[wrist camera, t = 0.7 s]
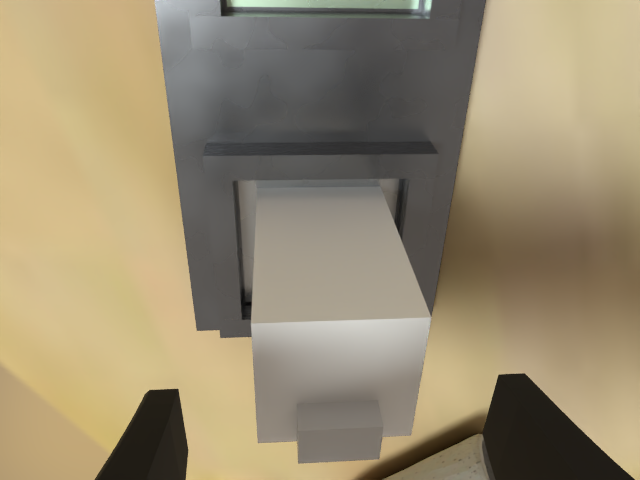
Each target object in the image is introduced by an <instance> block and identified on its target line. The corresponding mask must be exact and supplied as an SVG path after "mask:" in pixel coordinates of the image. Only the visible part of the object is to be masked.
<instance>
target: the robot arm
mask: <svg viewBox="0 0 640 480" xmlns="http://www.w3.org/2000/svg"><path fill="white" fill-rule="evenodd" d="M482 435H483V438H484V442H485V446H486V449H487V453H488V457H489V460H490V464H491V467H492V470H493V474H494V477H495V480H635V479H634V478H632V477H631V476H630V475H629V474H628V473H627V472H625V471H624V470H623V469H622V468H621V467H620V466H619V465H618V464H617V463H615V462H614V461H613V460H612V459H611V458H610V457H609V456H608V455H607V454H606V453H605V452H604V451H603V450H601V449H600V448H599V447H598V446H597V445H596V444H595V443H594V442H593V441H592V440H591V439H590V438H589V437H588V436H587V435H586V434H585V433H584V432H583V431H582V430H581V429H580V428H578V427H577V426H576V425H575V424H574V423H573V422H572V421H571V420H570V419H569V418H568V417H567V416H566V415H565V414H564V413H563V412H562V411H561V410H560V409H559V408H558V407H557V406H556V405H555V404H554V403H553V402H552V401H551V400H550V399H549V398H548V397H547V396H546V395H545V394H544V392H543V391H542V390H541V389H540V388H539V387H538V386H537V385H536V384H535V383H534V382H533V381H532V380H531V379H530V378H529V377H528V376H527V375H526V374H503V375H499V376H498V379H497V383H496V386H495V390H494V394H493V397H492V401H491V404H490V408H489V412H488V415H487V419H486V423H485V426H484V430H483V433H482ZM187 457H188V446H187V439H186V433H185V427H184V421H183V415H182V409H181V403H180V397H179V391H178V389H165V390H149V391H148V392H147V393H146V394H145V395H144V397H143V399H142V401H141V403H140V405H139V407H138V409H137V411H136V413H135V414H134V416H133V418H132V420H131V422H130V423H129V425H128V427H127V429H126V430H125V432H124V434H123V435H122V437H121V439H120V440H119V442H118V444H117V445H116V447H115V449H114V450H113V452H112V453H111V455H110V457H109V458H108V460H107V461H106V463H105V464H104V466H103V467H102V469H101V471H100V472H99V474H98V475H97V477H96V478H95V480H185V479H186V469H187Z"/></svg>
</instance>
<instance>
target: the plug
mask: <svg viewBox="0 0 640 480" xmlns="http://www.w3.org/2000/svg"><path fill="white" fill-rule="evenodd" d="M430 323H431V315H430V313H429V310H428V308H427V305H426V302H425V300H424V297H423V295H422V292H421V290H420V287H419V284H418V282H417V279H416V277H415V274H414V272H413V269H412V266H411V264H410V261H409V259H408V256H407V254H406V251H405V248H404V246H403V243H402V241H401V238H400V236H399V233H398V230H397V228H396V225H395V223H394V220H393V218H392V215H391V212H390V210H389V207H388V205H387V202H386V200H385V197H384V194H383V192H382V189H381V187H380V186H376V187H302V188H257V205H256V227H255V248H254V269H253V290H252V312H251V333H252V351H253V368H254V385H255V403H256V420H257V437H258V443H271V442H291V441H297V450H298V464H299V463H318V462H337V461H355V460H374V459H379V458H380V450H381V442H382V437H390V436H410V435H411V433H412V428H413V422H414V416H415V410H416V404H417V398H418V393H419V387H420V381H421V375H422V369H423V364H424V358H425V352H426V346H427V340H428V334H429V329H430Z"/></svg>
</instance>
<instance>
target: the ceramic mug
mask: <svg viewBox="0 0 640 480" xmlns="http://www.w3.org/2000/svg"><path fill="white" fill-rule="evenodd" d="M383 480H495V477H494V474H493V470H492V467H491V464H490V460H489V457H488V453H487V449H486V446H485V442H484V438H483V435H482V434H476V435H474V436H472V437H470V438H468V439H466V440H464V441H462V442H460V443H458V444H456V445H454V446H451V447H449V448H447V449H445V450H443V451H441V452H439V453H436V454H434V455H432V456H430V457H428V458H426V459H424V460H422V461H420V462H418V463H416V464H414V465H412V466H410V467H409V468H407V469H404V470H402V471H400V472H398V473H396V474H393V475H391V476H389V477H387V478H385V479H383Z"/></svg>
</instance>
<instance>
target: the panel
mask: <svg viewBox="0 0 640 480" xmlns="http://www.w3.org/2000/svg"><path fill="white" fill-rule="evenodd" d="M485 2H486V0H155V7H156V15H157V23H158V31H159V39H160V46H161V54H162V62H163V70H164V78H165V86H166V93H167V101H168V109H169V117H170V125H171V132H172V140H173V148H174V156H175V164H176V172H177V179H178V187H179V195H180V203H181V211H182V218H183V226H184V234H185V242H186V250H187V258H188V265H189V273H190V281H191V289H192V297H193V304H194V312H195V320H196V328H197V331H204V330H220V337H221V338H231V337H252V333H251V312H252V290H253V269H254V248H255V227H256V205H257V188H302V187H376V186H380V187H381V189H382V192H383V194H384V197H385V200H386V202H387V205H388V207H389V210H390V212H391V215H392V218H393V220H394V223H395V225H396V228H397V230H398V233H399V236H400V238H401V241H402V243H403V246H404V248H405V251H406V254H407V256H408V259H409V261H410V264H411V266H412V269H413V272H414V274H415V277H416V279H417V282H418V284H419V287H420V290H421V292H422V295H423V297H424V300H425V302H426V305H427V308H428V310H429V313H430V315H431V316H432V311H433V305H434V299H435V293H436V287H437V282H438V276H439V270H440V264H441V258H442V252H443V247H444V241H445V235H446V229H447V223H448V217H449V212H450V206H451V200H452V194H453V188H454V182H455V177H456V171H457V165H458V159H459V153H460V147H461V142H462V136H463V130H464V124H465V118H466V112H467V107H468V101H469V95H470V89H471V83H472V78H473V72H474V66H475V60H476V54H477V48H478V43H479V37H480V31H481V25H482V19H483V13H484V8H485Z"/></svg>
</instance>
